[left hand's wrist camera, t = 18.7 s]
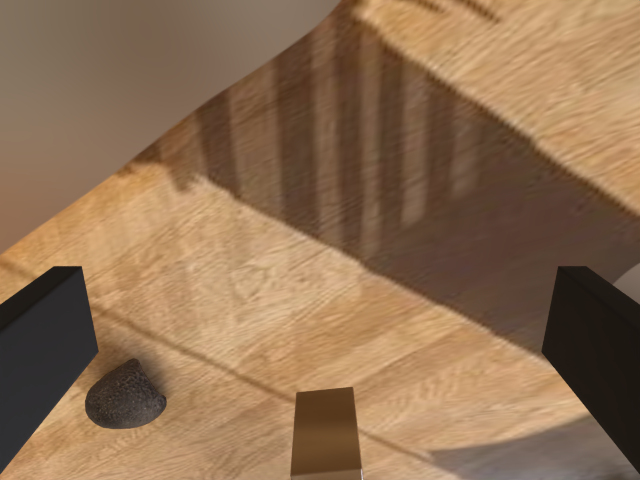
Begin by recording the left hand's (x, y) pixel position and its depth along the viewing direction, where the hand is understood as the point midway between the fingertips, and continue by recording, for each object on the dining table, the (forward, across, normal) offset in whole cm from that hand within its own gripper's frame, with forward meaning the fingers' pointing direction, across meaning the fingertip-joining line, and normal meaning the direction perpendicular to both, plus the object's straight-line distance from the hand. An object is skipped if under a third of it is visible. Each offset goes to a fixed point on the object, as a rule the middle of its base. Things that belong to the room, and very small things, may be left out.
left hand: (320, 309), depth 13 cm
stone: (+41, -26, -34) cm, 59 cm away
